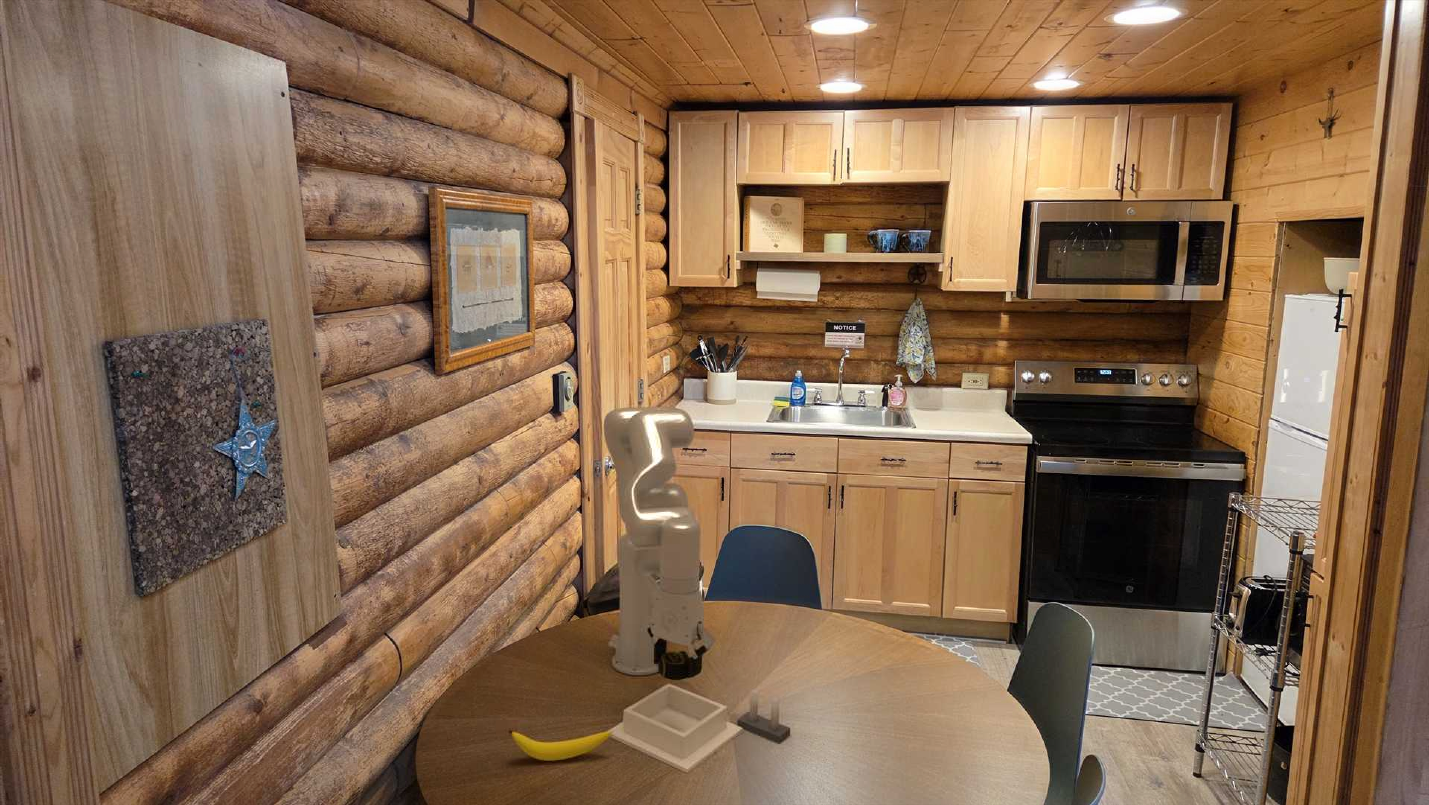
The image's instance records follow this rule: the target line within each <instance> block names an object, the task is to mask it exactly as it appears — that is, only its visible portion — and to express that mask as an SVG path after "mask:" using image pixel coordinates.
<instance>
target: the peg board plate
mask: <svg viewBox="0 0 1429 805" xmlns="http://www.w3.org/2000/svg"><path fill="white" fill-rule="evenodd" d="M749 699H750V700H749V711H746V712H745V713H744V714H743V715H742V716H740V717H739V718H737V721H736V722H737V723H736V724H737V726H739V727H742V728H743V730H745V731H747V732H749V733H750V732H751V733H752V734H755V735H758V736H760V737H763V738H765V739H767V740H770V741H771V742H774V743H777V744H781V743H782V742H784V741H785V740H787V738H788V737H789V736H790V735H791V727H788V726H786V725H784V724H781V723H780V721H779V720H780V703H781V702H780V701H781V700H780V698H779V697H772V698H771V702H770V703H771V704H770V719H769V718H766V717H764V716H762V715H759V714H758V713H759V712H758V711H759V708H758V707H759V690H757V689H751V690H750V696H749Z"/></svg>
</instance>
